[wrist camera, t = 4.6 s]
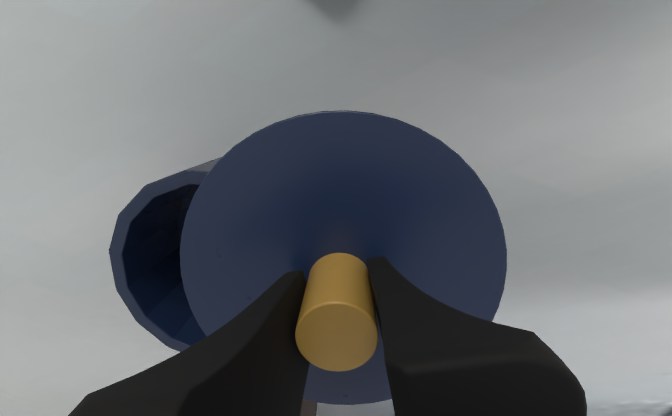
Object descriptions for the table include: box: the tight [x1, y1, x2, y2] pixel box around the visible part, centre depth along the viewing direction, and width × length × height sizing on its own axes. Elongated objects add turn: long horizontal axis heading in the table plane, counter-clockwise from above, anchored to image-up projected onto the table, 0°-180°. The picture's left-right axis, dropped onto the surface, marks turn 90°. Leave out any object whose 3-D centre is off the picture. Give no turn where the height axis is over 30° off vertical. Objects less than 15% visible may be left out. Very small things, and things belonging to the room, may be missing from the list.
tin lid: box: [180, 111, 507, 405], centre depth 11 cm, size 12×12×4 cm
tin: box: [109, 157, 222, 352], centre depth 19 cm, size 11×11×6 cm
